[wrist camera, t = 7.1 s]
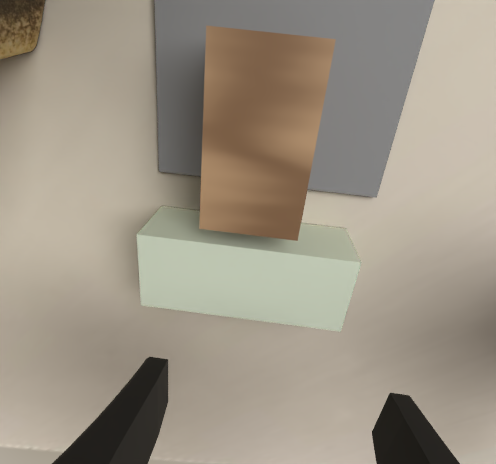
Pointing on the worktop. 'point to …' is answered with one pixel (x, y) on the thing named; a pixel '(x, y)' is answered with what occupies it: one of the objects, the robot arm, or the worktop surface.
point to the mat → (338, 87)
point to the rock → (19, 26)
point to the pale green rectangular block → (247, 271)
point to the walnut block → (260, 129)
